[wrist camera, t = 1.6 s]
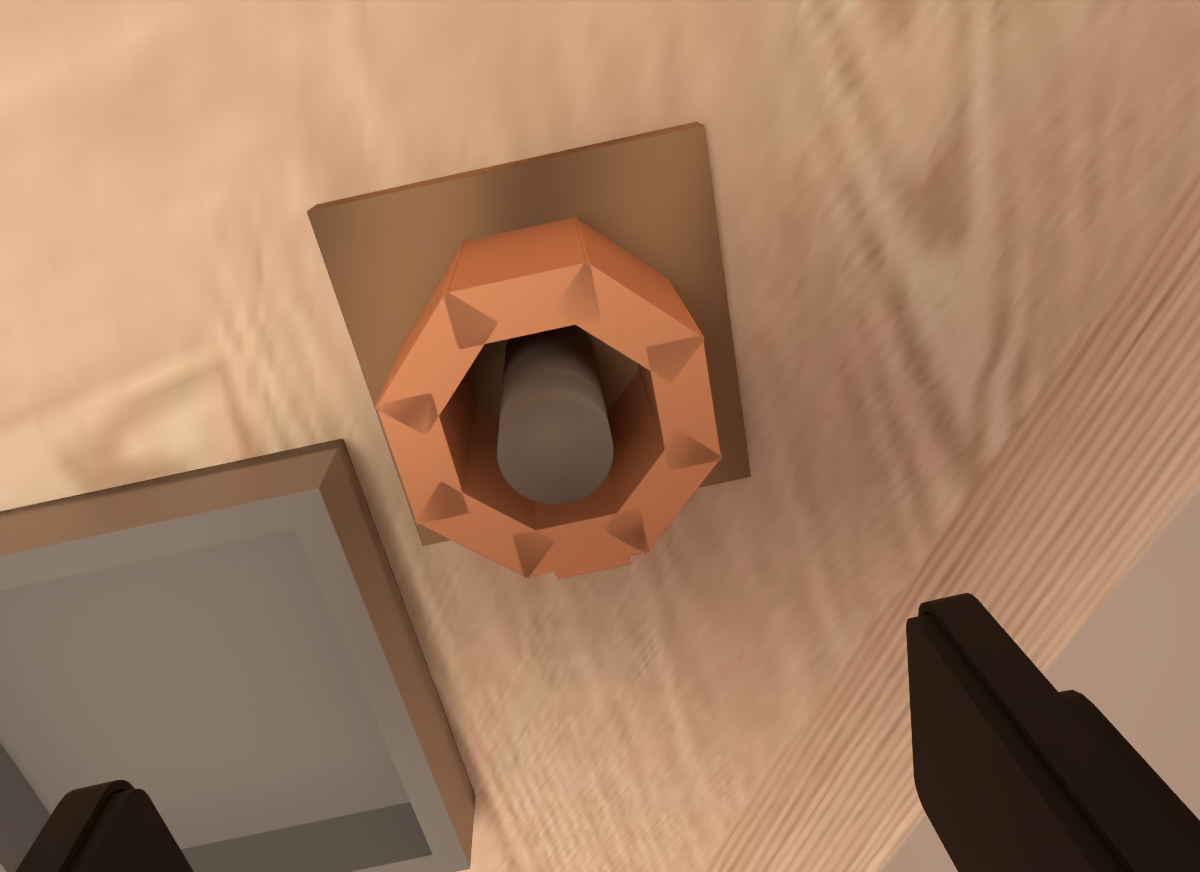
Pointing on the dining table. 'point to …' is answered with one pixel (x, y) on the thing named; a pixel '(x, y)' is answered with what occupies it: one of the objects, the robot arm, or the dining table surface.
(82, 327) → the dining table surface
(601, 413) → the plate
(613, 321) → the collar
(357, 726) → the tray
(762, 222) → the dining table surface
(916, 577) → the dining table surface
